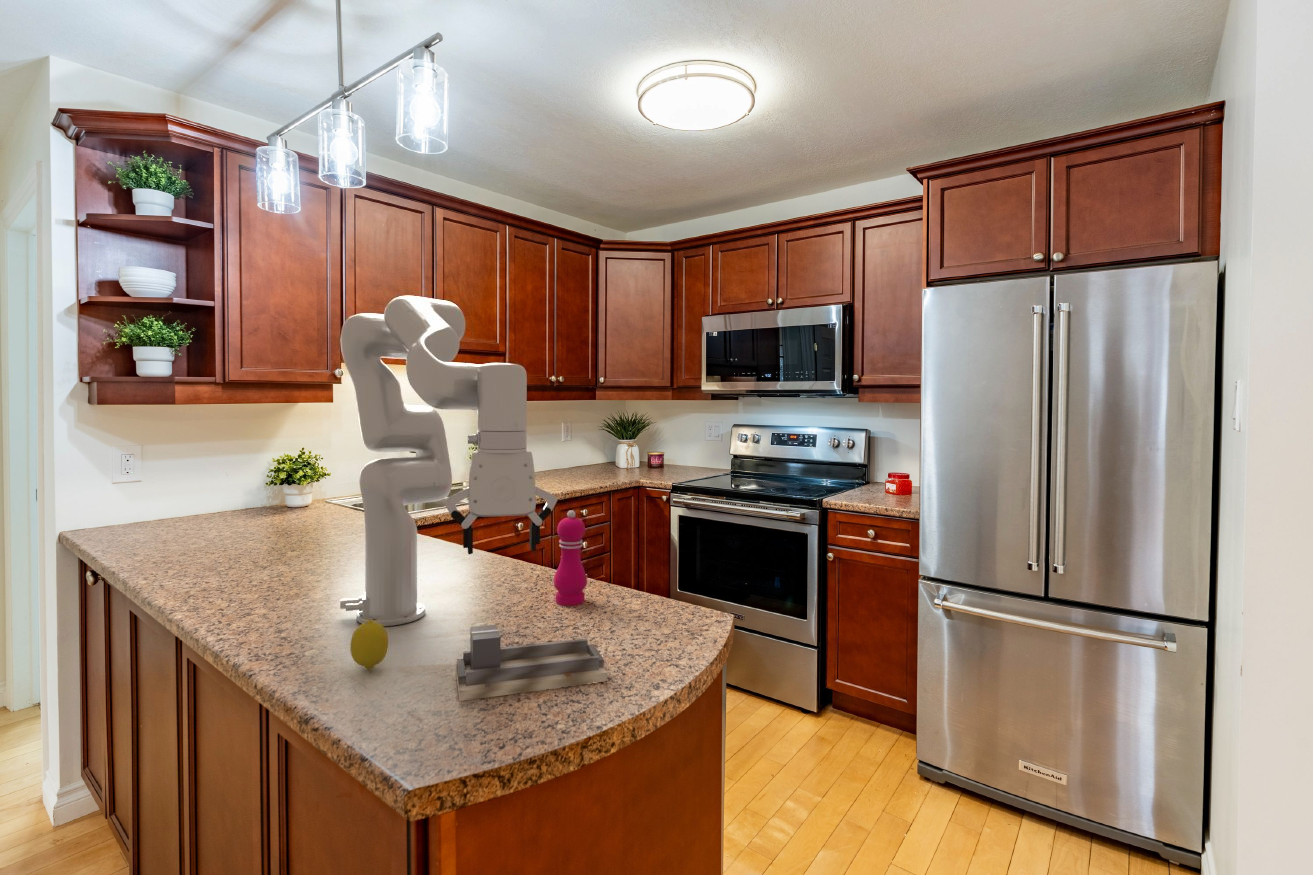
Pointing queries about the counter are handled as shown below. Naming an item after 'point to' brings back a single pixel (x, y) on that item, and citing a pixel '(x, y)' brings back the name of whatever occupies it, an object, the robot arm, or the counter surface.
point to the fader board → (532, 669)
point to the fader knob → (484, 647)
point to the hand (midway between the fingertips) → (501, 550)
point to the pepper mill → (570, 562)
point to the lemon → (369, 644)
